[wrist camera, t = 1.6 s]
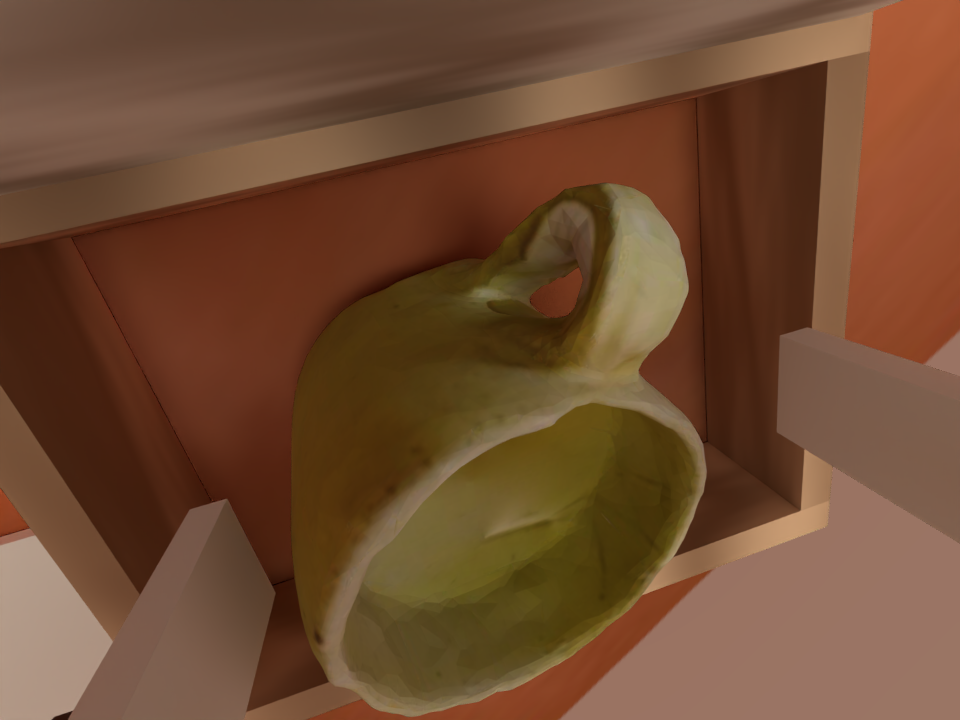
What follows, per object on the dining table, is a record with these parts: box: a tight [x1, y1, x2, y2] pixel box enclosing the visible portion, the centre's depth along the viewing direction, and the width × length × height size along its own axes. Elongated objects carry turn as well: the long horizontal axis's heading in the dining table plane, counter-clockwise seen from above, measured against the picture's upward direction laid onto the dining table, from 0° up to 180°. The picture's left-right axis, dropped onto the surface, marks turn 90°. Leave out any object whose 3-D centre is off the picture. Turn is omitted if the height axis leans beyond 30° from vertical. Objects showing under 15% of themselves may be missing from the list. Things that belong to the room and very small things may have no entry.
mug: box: [291, 183, 707, 717], centre depth 13 cm, size 12×10×10 cm
